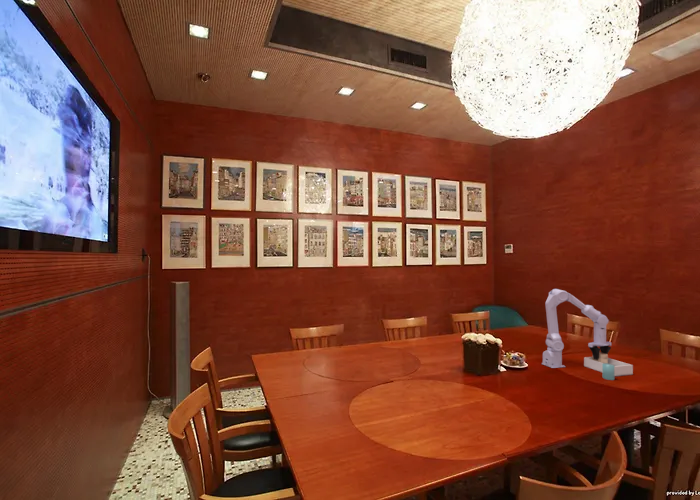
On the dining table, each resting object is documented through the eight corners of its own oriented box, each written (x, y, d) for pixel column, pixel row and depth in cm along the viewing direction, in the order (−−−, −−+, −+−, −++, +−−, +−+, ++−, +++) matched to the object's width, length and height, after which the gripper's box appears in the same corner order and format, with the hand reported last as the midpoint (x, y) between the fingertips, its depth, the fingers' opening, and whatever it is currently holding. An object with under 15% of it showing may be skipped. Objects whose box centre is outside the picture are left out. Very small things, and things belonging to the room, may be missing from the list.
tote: (613, 376, 182) (613, 366, 182) (584, 366, 199) (584, 357, 199) (632, 374, 185) (632, 365, 185) (602, 364, 202) (602, 355, 202)
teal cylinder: (609, 380, 176) (609, 366, 176) (600, 377, 181) (600, 363, 181) (616, 379, 177) (616, 366, 178) (607, 376, 182) (607, 363, 182)
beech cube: (592, 361, 198) (592, 352, 198) (598, 360, 199) (599, 351, 199) (601, 363, 193) (601, 354, 193) (607, 363, 195) (607, 354, 195)
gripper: (596, 337, 191) (596, 362, 191) (616, 336, 194) (616, 360, 194) (584, 334, 198) (584, 358, 197) (604, 333, 201) (604, 356, 201)
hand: (599, 359), depth 196 cm, fingers closed on beech cube, 5 cm apart
